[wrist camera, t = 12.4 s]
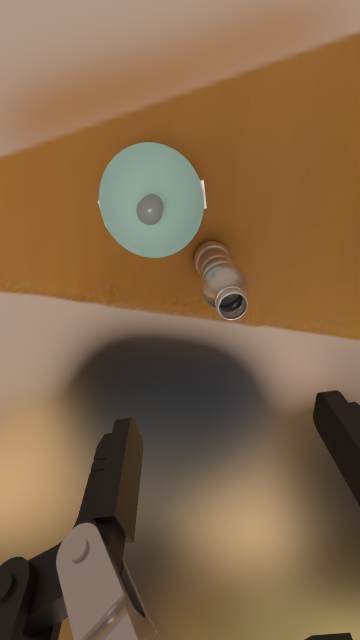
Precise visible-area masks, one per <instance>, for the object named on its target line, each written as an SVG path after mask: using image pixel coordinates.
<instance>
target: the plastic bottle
mask: <svg viewBox="0 0 360 640" xmlns="http://www.w3.org/2000/svg"><path fill="white" fill-rule="evenodd" d="M194 266H195V269H196V270H197V272H198V273H199V275H200V276H201V278H202V281H201V291H202V296H203V298H204V300H205V301H206V302H207V303H208V304H209V305H210V306H211V307H213V308H214V309H217V310H218V312H219V314H220V315H221V316H222V317H223V318H224V319H227V320H236V319H238V318H240V317H242V316H243V315H244V314H245V312H246V311H247V308H248V301H247V299H246V294H247V291H248V280H247V277H246V275H245V273H244V272H243V271H242V270H241V269H240V268H239V267H238V266H236V265H235V264H233V263H232V262H231V259H230V254H229V251H228V250H227V248H226V247H225V246H224V245H223V244H221V243H219V242H216V241H208V242H205V243H203V244H202V245H201V246H200V247H199V248H198V249H197V251H196V253H195V257H194Z"/></svg>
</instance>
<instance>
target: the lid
mask: <svg viewBox="0 0 360 640" xmlns="http://www.w3.org/2000/svg"><path fill="white" fill-rule="evenodd" d="M99 205H100V211H101V215H102V218H103V220H104V223H105V225H106V227H107V229H108V230H109V232H110V234H111V235H112V236H113V237H114V239H115V240H116V241H117V242H118V243H119V244H120V245H121V246H123V247H124V248H125V249H127V250H129V251H130V252H132V253H135V254H137V255H140V256H143V257H149V258H159V257H165V256H169V255H172V254H174V253H176V252H178V251H180V250H181V249H183V248H184V247H185V246H186V245H187V244H188V243H189V242H190V241H191V240H192V239H193V237H194V236H195V234H196V233H197V231H198V229H199V227H200V224H201V221H202V217H203V213H204V195H203V189H202V185H201V182H200V180H199V177H198V175H197V173H196V171H195V169H194V168H193V166H192V165H191V164H190V162H189V161H188V160H187V159H186V158H185V157H184V156H183V155H181V154H180V153H179V152H178V151H176V150H174V149H173V148H171V147H168V146H166V145H163V144H159V143H153V142H144V143H138V144H134V145H131V146H129V147H127V148H125V149H124V150H122V151H121V152H119V153H118V154H117V155H116V156H115V157H114V158H113V159H112V160H111V161H110V163H109V164H108V166H107V167H106V169H105V171H104V174H103V176H102V179H101V183H100V189H99Z"/></svg>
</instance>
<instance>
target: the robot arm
mask: <svg viewBox="0 0 360 640" xmlns="http://www.w3.org/2000/svg"><path fill="white" fill-rule="evenodd" d="M313 420H314V424H315V427H316V429H317V431H318V433H319V435H320V436H321V438H322V440H323V442H324V444H325V445H326V447H327V449H328V451H329V452H330V454H331V456H332V458H333V460H334V461H335V463H336V465H337V467H338V469H339V470H340V472H341V474H342V476H343V478H344V479H345V481H346V482H347V485H348V486H349V488H350V490H351V492H352V494H353V495H354V497H355V499H356V501H357V502H358V504H359V506H360V405H359V404H357V403H356V402H351V403H348V402H347V400H346V399H345V398H344V396H343V395H342V394H341V393H340V392H339V391H336V390H335V391H328V392H321V393H318V394H317V396H316V402H315V407H314V413H313ZM142 457H143V440H142V436H141V434H140V431H139V429H138V426H137V424H136V422H135V419H134V418H133V417H130V418H123V419H117V420H116V421H115V423H114V427H113V431H112V433H109V434H105V435H104V436H103V438H102V439H101V441H100V443H99V444H98V446H97V449H96V453H95V456H94V462H93V464H92V467H91V473H90V475H89V478H88V482H87V486H86V489H85V493H84V497H83V501H82V504H81V508H80V511H79V515H78V518H77V521H76V523H75V525H74V527H73V529H72V530H71V531H70V532H69V533H68V534H67V535H66V537H65V538H64V540H63V541H62V542H60V543H59V544H58V545H56V546H55V547H53V548H51V549H49V550H47V551H45V552H43V553H41V554H39V555H38V556H36V557H34V558H32V559H30V560H28V561H27V560H26V559H24V558H23V557H14V558H11V559H9V560H7V561H6V562H4V563H3V564H2V565H1V566H0V640H58V638H59V633H60V628H61V623H62V620H64V619H65V618H67V617H69V621H70V625H71V629H72V634H73V638H74V640H161V639H160V637H159V635H158V633H157V631H156V629H155V627H154V626H153V624H152V622H151V621H150V619H149V617H148V615H147V613H146V610H145V608H144V606H143V604H142V601H141V599H140V597H139V594H138V592H137V590H136V588H135V585H134V583H133V581H132V579H131V576H130V574H129V572H128V569H127V567H126V565H125V563H124V560H123V553H124V545H125V543H132V542H134V534H135V524H136V515H137V505H138V495H139V485H140V476H141V466H142ZM305 640H353V639H352V637H351V634H350V633H340V634H327V635H313V636H310V637H309V638H307V639H305Z"/></svg>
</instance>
